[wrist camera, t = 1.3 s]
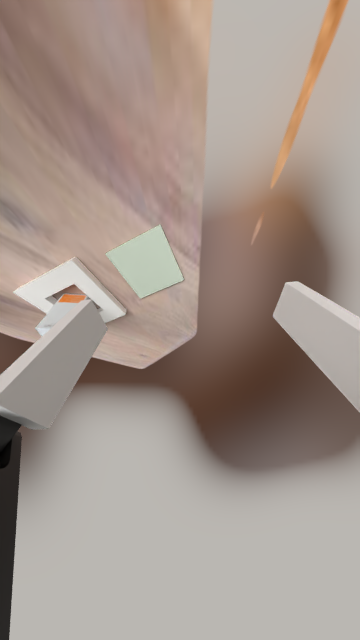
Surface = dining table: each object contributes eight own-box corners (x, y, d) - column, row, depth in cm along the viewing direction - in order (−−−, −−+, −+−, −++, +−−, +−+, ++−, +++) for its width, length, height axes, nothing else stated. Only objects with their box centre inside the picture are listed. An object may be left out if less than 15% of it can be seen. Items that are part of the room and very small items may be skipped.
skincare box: (89, 293, 36) (69, 328, 28) (93, 306, 39) (77, 341, 31) (62, 292, 35) (33, 328, 27) (69, 305, 38) (44, 341, 30)
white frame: (18, 287, 33) (12, 292, 31) (75, 256, 30) (71, 260, 28) (81, 329, 45) (78, 333, 43) (126, 309, 41) (125, 314, 40)
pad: (105, 252, 30) (105, 254, 29) (160, 224, 27) (160, 224, 27) (140, 297, 39) (140, 298, 38) (183, 278, 36) (184, 279, 36)
